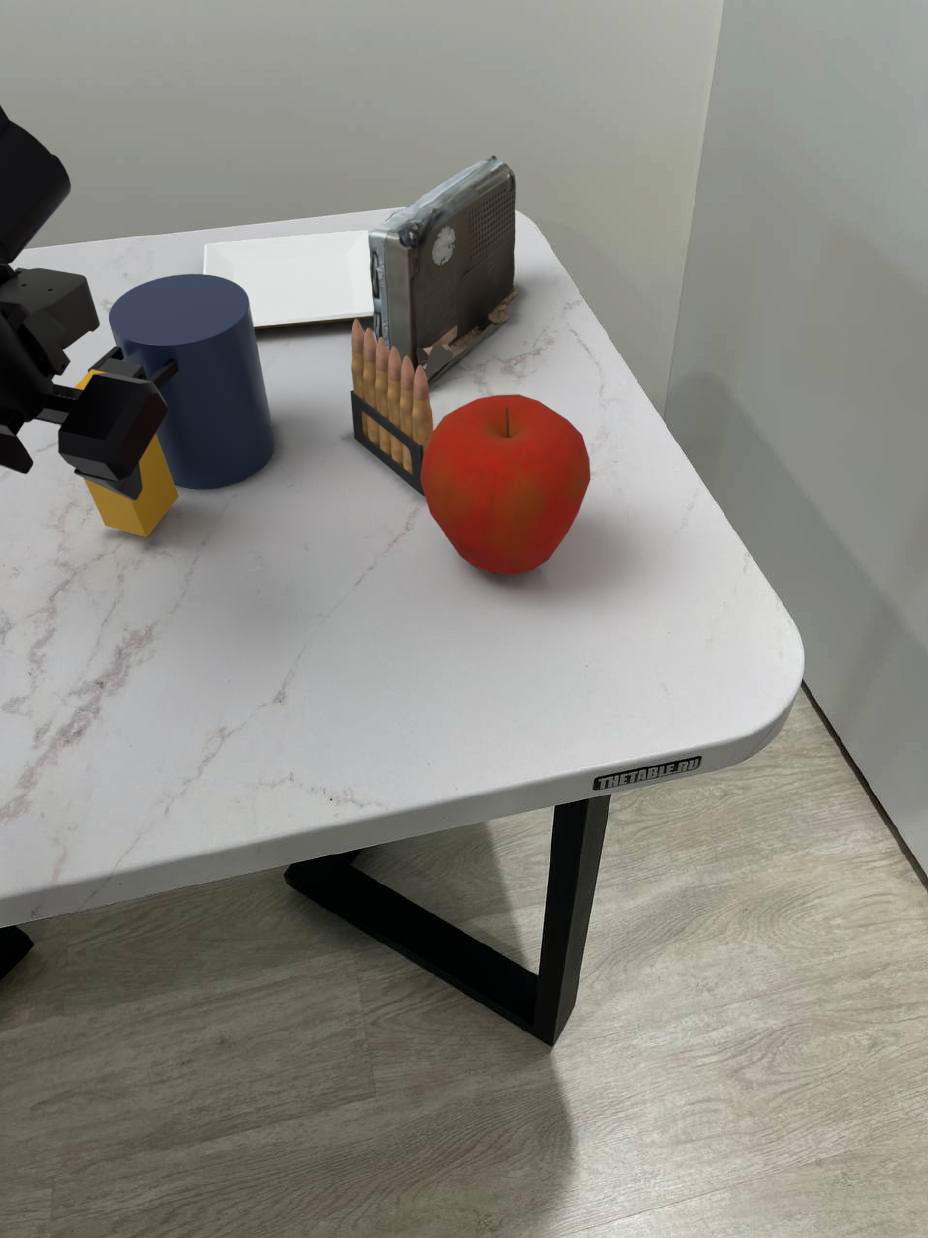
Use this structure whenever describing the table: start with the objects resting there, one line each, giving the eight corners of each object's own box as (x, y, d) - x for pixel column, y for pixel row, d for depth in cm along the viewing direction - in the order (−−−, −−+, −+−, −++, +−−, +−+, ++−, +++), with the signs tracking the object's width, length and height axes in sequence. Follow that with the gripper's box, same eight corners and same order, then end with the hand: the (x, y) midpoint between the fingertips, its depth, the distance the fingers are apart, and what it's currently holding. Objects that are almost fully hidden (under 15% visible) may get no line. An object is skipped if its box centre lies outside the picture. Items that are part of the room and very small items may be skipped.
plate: (388, 330, 104) (386, 311, 103) (204, 347, 102) (200, 329, 101) (371, 245, 117) (370, 227, 115) (207, 259, 115) (204, 241, 114)
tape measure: (147, 537, 81) (98, 421, 72) (105, 526, 82) (51, 409, 73) (189, 483, 85) (148, 366, 76) (149, 472, 86) (103, 355, 77)
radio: (485, 271, 112) (485, 131, 101) (551, 293, 109) (559, 151, 98) (350, 368, 99) (334, 220, 89) (420, 396, 96) (412, 246, 85)
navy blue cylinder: (215, 525, 84) (178, 380, 74) (103, 495, 87) (53, 351, 76) (296, 428, 93) (273, 286, 83) (193, 403, 96) (159, 264, 85)
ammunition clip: (441, 487, 87) (436, 366, 78) (424, 496, 86) (417, 374, 77) (370, 429, 92) (359, 310, 84) (353, 437, 92) (340, 317, 83)
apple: (401, 582, 79) (388, 434, 69) (464, 491, 86) (461, 345, 76) (549, 629, 75) (560, 480, 65) (602, 530, 83) (618, 382, 72)
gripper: (153, 240, 57) (246, 414, 71) (-102, 201, 63) (31, 370, 76) (57, 393, 53) (176, 546, 67) (-208, 337, 58) (-47, 490, 72)
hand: (82, 481), depth 71 cm, fingers open, 9 cm apart
